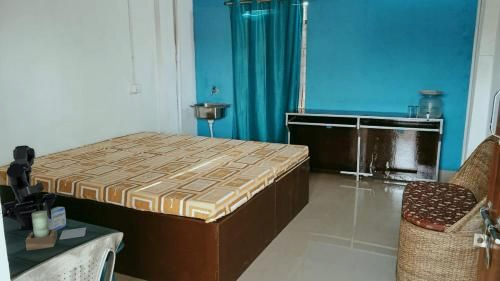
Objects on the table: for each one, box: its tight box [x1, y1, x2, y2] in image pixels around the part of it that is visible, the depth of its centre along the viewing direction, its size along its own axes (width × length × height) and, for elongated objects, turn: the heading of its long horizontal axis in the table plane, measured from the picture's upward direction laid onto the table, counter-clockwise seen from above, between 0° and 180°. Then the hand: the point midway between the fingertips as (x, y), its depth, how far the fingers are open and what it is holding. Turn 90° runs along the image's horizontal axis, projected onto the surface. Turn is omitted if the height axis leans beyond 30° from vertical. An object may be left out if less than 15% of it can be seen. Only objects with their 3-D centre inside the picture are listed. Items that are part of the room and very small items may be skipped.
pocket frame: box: [24, 229, 58, 251], centre depth 139 cm, size 9×9×4 cm
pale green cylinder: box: [32, 210, 49, 238], centre depth 139 cm, size 5×5×12 cm
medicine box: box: [47, 206, 67, 232], centre depth 156 cm, size 8×4×9 cm, turn 168°
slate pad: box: [59, 227, 87, 240], centre depth 149 cm, size 9×9×1 cm
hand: (38, 221), depth 139 cm, fingers open, 9 cm apart
